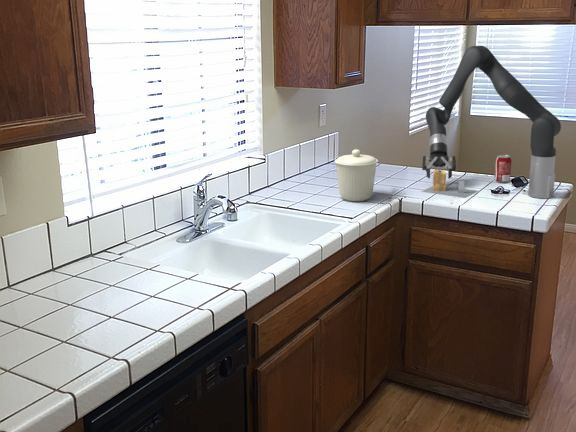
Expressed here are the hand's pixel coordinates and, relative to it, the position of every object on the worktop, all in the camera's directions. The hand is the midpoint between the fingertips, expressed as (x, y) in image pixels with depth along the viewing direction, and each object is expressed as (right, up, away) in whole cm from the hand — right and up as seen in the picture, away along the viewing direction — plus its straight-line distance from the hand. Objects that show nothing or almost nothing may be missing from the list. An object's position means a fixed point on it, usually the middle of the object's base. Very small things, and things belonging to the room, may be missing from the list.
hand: (439, 177), depth 273 cm
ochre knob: (0, -5, +1) cm, 5 cm away
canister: (-36, -9, -4) cm, 38 cm away
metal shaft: (+8, -7, -5) cm, 12 cm away
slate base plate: (+4, -7, -2) cm, 9 cm away
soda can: (+33, -1, +18) cm, 37 cm away
